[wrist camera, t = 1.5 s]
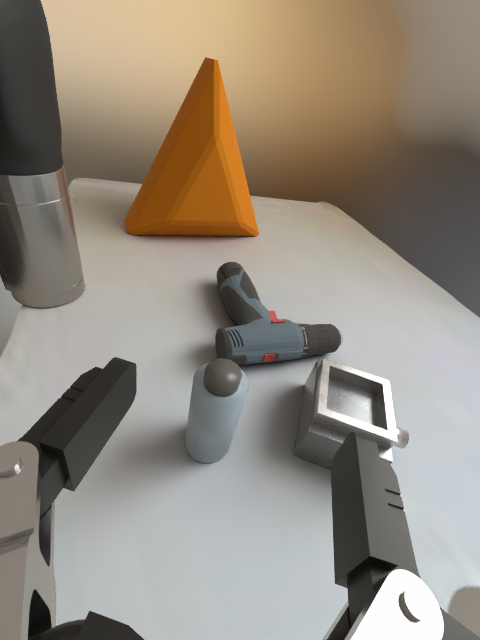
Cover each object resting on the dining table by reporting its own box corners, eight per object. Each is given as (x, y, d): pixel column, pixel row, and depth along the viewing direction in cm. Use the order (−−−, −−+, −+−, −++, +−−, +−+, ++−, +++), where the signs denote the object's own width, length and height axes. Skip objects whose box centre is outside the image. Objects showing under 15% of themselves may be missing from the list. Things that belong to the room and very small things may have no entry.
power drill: (290, 285, 58) (343, 363, 44) (195, 285, 52) (222, 377, 38) (299, 260, 55) (359, 338, 41) (198, 258, 49) (228, 348, 35)
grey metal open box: (293, 455, 32) (314, 422, 28) (304, 384, 39) (322, 350, 35) (397, 494, 31) (435, 466, 26) (387, 414, 38) (416, 382, 34)
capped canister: (177, 453, 30) (184, 383, 23) (195, 415, 33) (207, 344, 26) (220, 470, 29) (242, 405, 22) (234, 430, 33) (257, 362, 26)
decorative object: (129, 246, 58) (117, 36, 39) (123, 213, 68) (111, 34, 49) (266, 246, 69) (309, 83, 50) (243, 217, 79) (271, 73, 60)
